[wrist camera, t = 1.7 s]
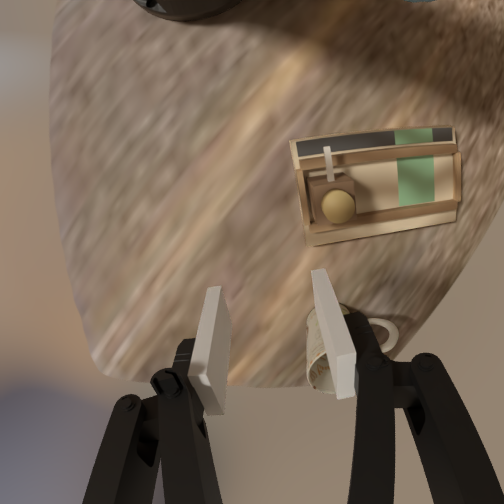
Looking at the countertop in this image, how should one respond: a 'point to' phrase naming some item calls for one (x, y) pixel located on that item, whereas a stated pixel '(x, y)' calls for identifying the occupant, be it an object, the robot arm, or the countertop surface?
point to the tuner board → (383, 179)
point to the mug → (317, 355)
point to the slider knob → (331, 195)
